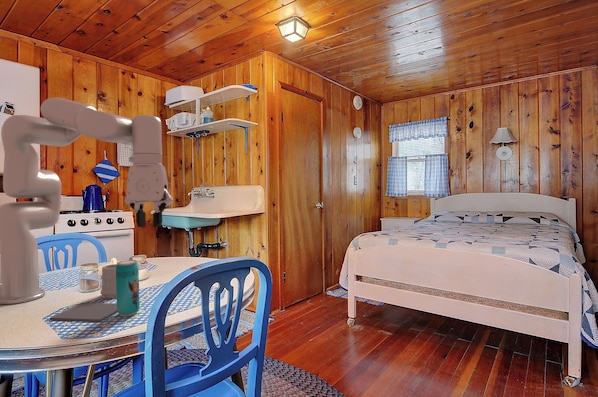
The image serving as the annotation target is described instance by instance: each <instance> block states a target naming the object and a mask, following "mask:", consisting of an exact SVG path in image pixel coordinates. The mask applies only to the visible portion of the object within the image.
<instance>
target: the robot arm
mask: <svg viewBox="0 0 598 397" xmlns="http://www.w3.org/2000/svg"><path fill="white" fill-rule="evenodd" d="M40 113H41V115H42V116H43V117H39V116H34V115H26V114H15V115H11V116H9V117H7V118H6V120H4V122H3V124H2V126H1V132H0V137H1V142H2V147H3V152H4V157H3V158H4V161H3V174H2V189H3V193H5V195H6V196H8V197H10V198H14V199H35V198H36V201H33V200H32V201H13V202H7V203H4V204H2V205H0V278H1V280H0V281H1V284H0V305H12V304H13V305H14V304H20V303H25V302H29V301H34V300H37V299H40V298H42V297H44V296H45V295H46V290H45V289H42V288H40V275H39V274H40V272H39V271H40V270H39V267H40V266H39V244H38V241H37V239H36V238H35V236H34V235H33V234H32V233H31V231H33V230H40V229H41V230H42V229H48V228H52V227H54V226H55V225H56V224H57V223H58V221H59V219H60V216H61V215H60V212H61V204H62V203H61V202H62V201H61V200H62V191H63V190H62V181H61V178H60V177H59V175H58V174H57V173H56V172H55V171H52V170H49V169H39V154H38V152H37V151H36V149H35V148H34V146H33V145H34V144H36V145H42V146H50V147H52V146H53V147H66V146H68V145H71V144H72V143H73V142H75V141H76V140H78V139H79V138H80V137H81V136H86V137H88V138H91V139H95V140H98V141H103V142H108V143H116V144H121V145H129V146H131V148H132V155H131V157H129V158H128V161H129V162H130V163H132V165H130V166H129V169H128V173H127V179H126V180H127V181H126V197H125V198H124V199H123V202H124V203H125V204H126V205H128V206H129V207H130V208H131V209H132V210H133V212H134V213H135V220H136V226H137V228H140V227H145V226H147V222H146V212H145V211H144V210H145V203H148V202H149V203H150V202H152V203H153V208H154V212H153V213H152V224H153V225H152V226H153V227H154V228H157V227H161V226H162V224H163V212H165V209H166V208H168V206H169V205H171V204H172V203H174V199H173V197H172V195H171V193H170V192H169V182H168V176H167V170H166V166H165V165H163V143H162V142H163V137H162V136H163V135H162V129H163V127H162V121H161V119H160V118H159V117H157V116H154V115H149V114H138V115H135V116H133V117H132V118H130V117H126V116H122V115H118V114H113V113H109V112H105V111H101V110H98V109H96V107H94V106H92V105H89V104H86V103H84V102H83V103H82V102H78V101H75V100H71V99H66V98H64V97H49V98H47V99H45V100H44V101H43V102H42V103H41V104H40ZM32 144H33V145H32Z"/></svg>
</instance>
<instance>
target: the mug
mask: <svg viewBox="0 0 598 397" xmlns="http://www.w3.org/2000/svg"><path fill="white" fill-rule="evenodd" d="M128 260H134V258H133V256H130V257H129V258H128ZM116 267H117V263H114V264H113V263H111V264H108V265H104V266H102V267H101V276H100V279H101V290H100V295H101V298H102V299H106V300H107V299H117V293H116Z"/></svg>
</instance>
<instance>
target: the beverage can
mask: <svg viewBox="0 0 598 397" xmlns="http://www.w3.org/2000/svg"><path fill="white" fill-rule="evenodd" d="M116 264H117V267H116V293H117V298H116V304H117V311H118V312H117V313H118V315H119V316H120V317H121V318H127V317H129V318H130V317H132V316H135V315H137V314H138V312H139V309H140V279H139V278H140V277H139V276H140V275H139V274H140V272H139V264H138V260H135V259H133V260H129V259H125V260H120V261H118V262H116Z"/></svg>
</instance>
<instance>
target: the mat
mask: <svg viewBox="0 0 598 397" xmlns="http://www.w3.org/2000/svg"><path fill="white" fill-rule="evenodd" d="M117 313H118V311H117V303H110V302H109V303H107V302H106V303H103V302H81V303H79V304H77V305H75V306H73V307H71V308H68V309H66V310H64V311H62V312H59V313H57V314H55V315H53V316H51V317H50V318H49V320H50V321H66V322H67V321H70V322H71V321H72V322H73V321H74V322H95V323H99V322H100V323H101V322H103V321H105V320H106V319H108V318H110V317H112V316H114V315H116V314H117Z"/></svg>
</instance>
